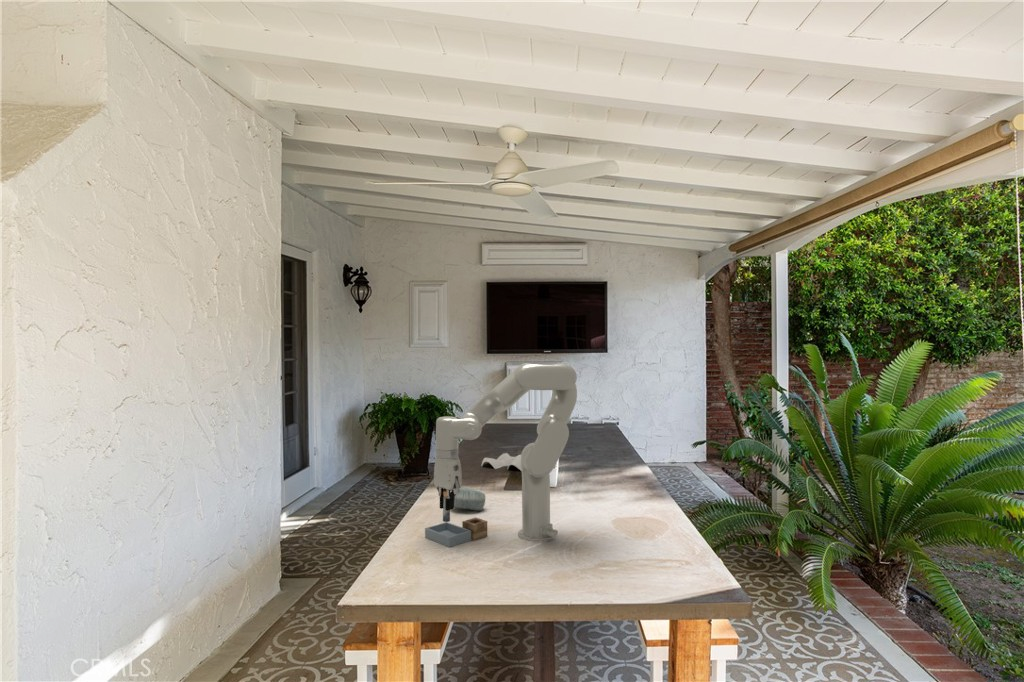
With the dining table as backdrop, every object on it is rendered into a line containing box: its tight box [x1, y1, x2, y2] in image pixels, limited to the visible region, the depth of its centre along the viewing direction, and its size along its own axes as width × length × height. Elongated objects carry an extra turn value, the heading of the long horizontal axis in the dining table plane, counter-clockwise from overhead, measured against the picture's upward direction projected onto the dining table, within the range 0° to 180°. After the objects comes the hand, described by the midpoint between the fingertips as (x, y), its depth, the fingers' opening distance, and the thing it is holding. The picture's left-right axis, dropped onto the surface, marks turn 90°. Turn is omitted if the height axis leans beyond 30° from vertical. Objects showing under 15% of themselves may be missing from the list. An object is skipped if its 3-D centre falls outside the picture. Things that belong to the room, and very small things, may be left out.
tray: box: [424, 522, 472, 548], centre depth 189 cm, size 13×9×3 cm
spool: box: [454, 486, 486, 512], centre depth 220 cm, size 14×10×10 cm
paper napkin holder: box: [481, 452, 522, 472], centre depth 287 cm, size 25×19×10 cm
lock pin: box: [442, 490, 451, 523], centre depth 189 cm, size 2×2×10 cm
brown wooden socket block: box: [461, 517, 488, 541], centre depth 191 cm, size 6×6×5 cm
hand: (446, 508), depth 189 cm, fingers closed on lock pin, 2 cm apart
